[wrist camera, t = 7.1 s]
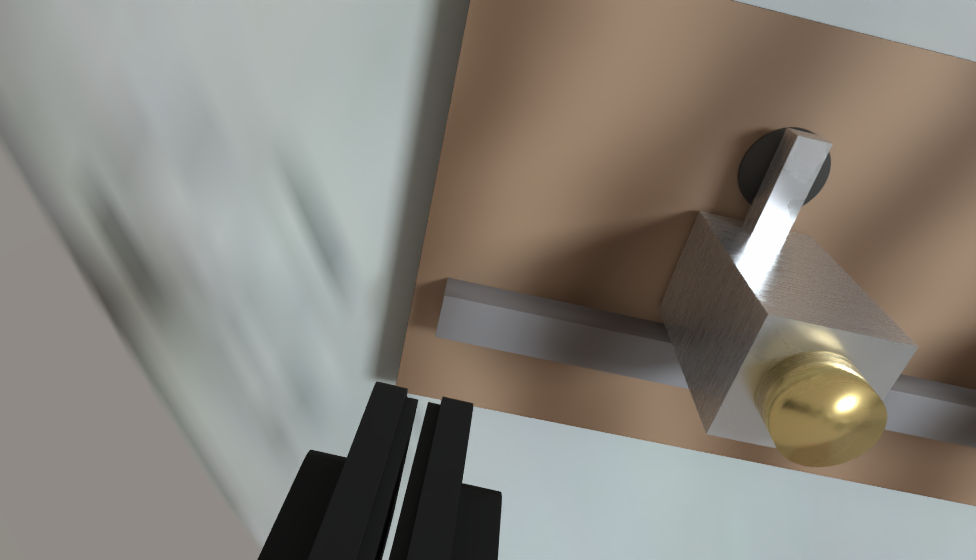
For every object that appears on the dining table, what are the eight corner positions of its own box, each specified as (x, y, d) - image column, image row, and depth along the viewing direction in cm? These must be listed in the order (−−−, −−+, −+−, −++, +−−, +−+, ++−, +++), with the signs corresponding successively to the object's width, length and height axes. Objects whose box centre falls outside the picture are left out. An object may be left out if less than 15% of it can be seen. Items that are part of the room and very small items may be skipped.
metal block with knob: (858, 142, 18) (1041, 254, 12) (761, 331, 21) (864, 498, 15) (739, 114, 18) (860, 213, 12) (658, 309, 21) (720, 469, 15)
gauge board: (1383, 165, 19) (1918, 309, 12) (1064, 504, 26) (1276, 725, 19) (484, -63, 17) (461, -60, 10) (400, 370, 24) (350, 559, 17)
